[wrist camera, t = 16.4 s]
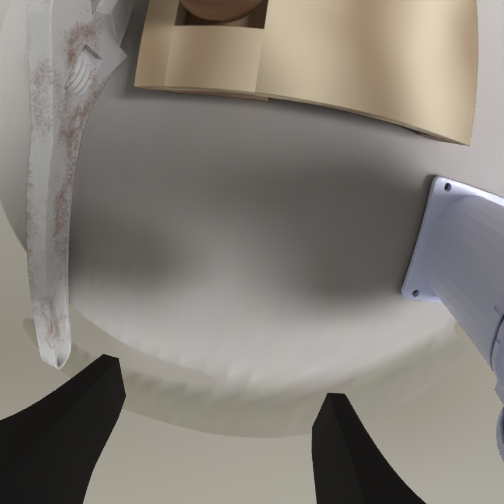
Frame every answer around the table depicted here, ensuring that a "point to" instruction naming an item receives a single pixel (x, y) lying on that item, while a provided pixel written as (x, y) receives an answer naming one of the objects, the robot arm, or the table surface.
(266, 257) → the table surface
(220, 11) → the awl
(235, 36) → the beige slab with cutout
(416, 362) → the table surface
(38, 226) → the wrench
